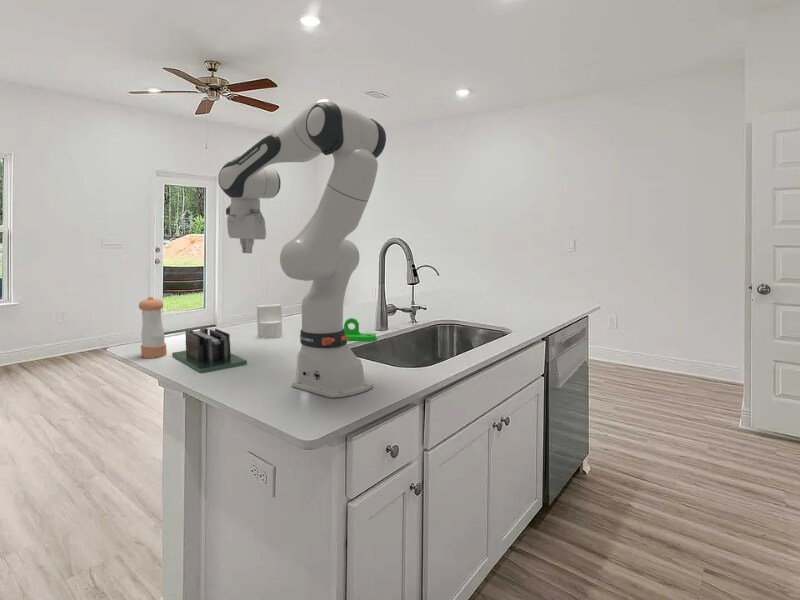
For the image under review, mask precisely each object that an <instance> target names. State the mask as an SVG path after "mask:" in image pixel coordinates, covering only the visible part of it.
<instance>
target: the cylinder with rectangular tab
mask: <svg viewBox="0 0 800 600" xmlns="http://www.w3.org/2000/svg"><path fill="white" fill-rule="evenodd" d="M256 317H257V319H256V320H257V321H256V324H257V326H256V327H257V338H258V337H259V339H261V338H274V339H278V338H277V337H279V338H281V336H283V324H282V323H283V321H282V319H283V318H282V304H279V303H277V304H275V303H274V304H263V305H262V304H261V305H256Z"/></svg>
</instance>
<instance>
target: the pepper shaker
mask: <svg viewBox="0 0 800 600" xmlns="http://www.w3.org/2000/svg"><path fill="white" fill-rule="evenodd" d="M138 308H139V310H141V317H142V319H141V320H142V325H141V334H140V336H141V342H142V343H141V346H140V353H141V354H140V355H141V358H143V357H144V359H156V358H155V357H158V358H162V357H165V356H167V355H166V354H167V353H168V352H167V344H166V342H165V340H166V339H165V331H164V327H163V323H162V321H163V320H162V310H161V309H163V308H164V303H163V301H162V300H161V299H157V298H154V297H153V296H148V297H147V299H143V300H141V301H139V303H138ZM164 355H165V356H164ZM161 356H162V357H161Z"/></svg>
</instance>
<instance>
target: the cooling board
mask: <svg viewBox="0 0 800 600" xmlns="http://www.w3.org/2000/svg"><path fill="white" fill-rule="evenodd" d="M199 331H202V332H204V333H206V334H208V335H210V336H212V337H214V338H216V339H218V340H222V342H223V344H222V345H217V346H212V339H211V338H206V342H205V337H203V336H201V335H199V334H197V333H194V332H195V331H194V330H193V329H190V328H185V350H180V351H175V352H171V353H172V354H171V355H172V357H173V358H174V357H175V358H174V359H176V360H178V361H179V360H180V361H179V362H181V363H183V364H184V363H185V364H184V365H186V366H188V367H189V366H190V367H189V368H191V367H192V368H191V369H193V370H195V371H196V370H197V371H196V372H198V373H200V374H202V372H204V373H208V371H209V372H214V370H215V371H219V370H225V369H229V367H230V368H234V367H235V366H236V367H240V365H241V366H246V365H248V360H246V359H244V358H242V357H240V356H238V355H236V354H233V353H232V352H231V341H230V340H231V339H230V338H231V337H230V333H229V332H225V331H223V330H220V329H218V328H215V329H214V330H213V329H208V328H207V327H204V326H200V327H199ZM245 364H246V365H245ZM236 367H235V368H236Z"/></svg>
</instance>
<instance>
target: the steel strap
mask: <svg viewBox="0 0 800 600" xmlns="http://www.w3.org/2000/svg"><path fill="white" fill-rule="evenodd" d="M193 332H194V333H197V334H199V335H201V336H203V337H205V342H206V338H211V339H212V346H217V345H222V344H223V342H222V340H218V339H216V338H214V337H212V336H210V334H209V333H208V334H206V333H204V332H202V331H200V330H196V331H193Z"/></svg>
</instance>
